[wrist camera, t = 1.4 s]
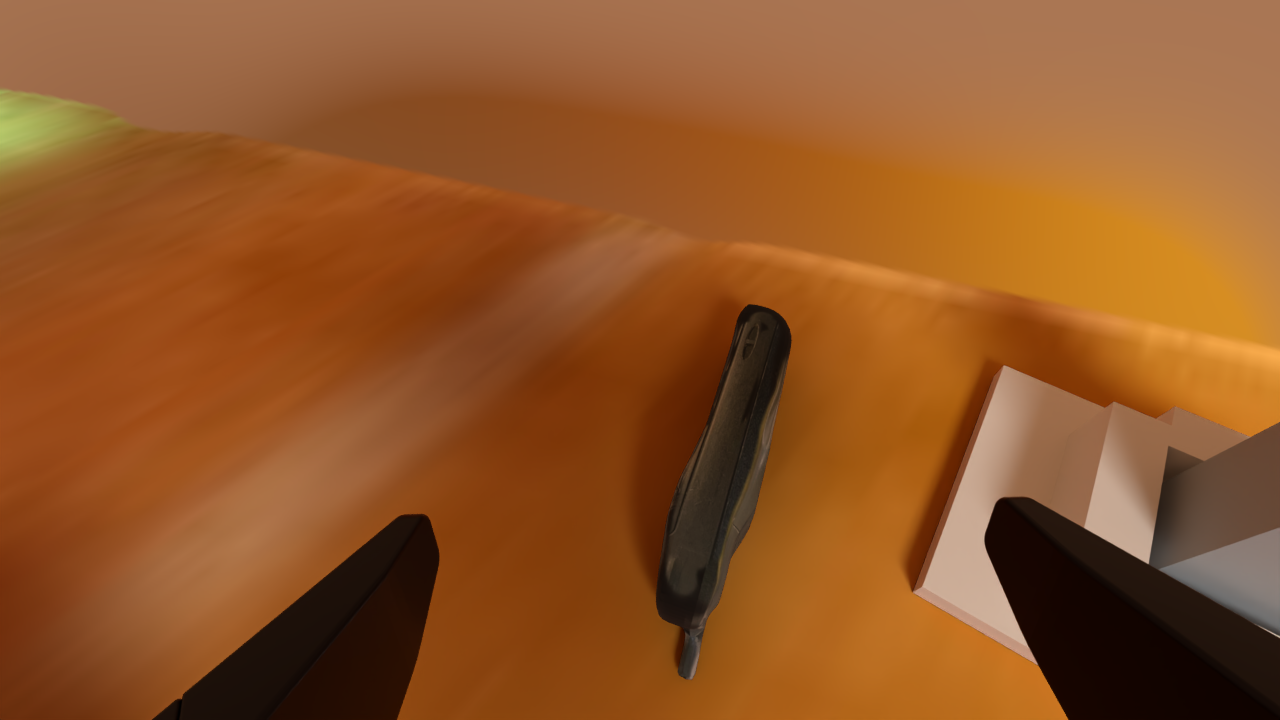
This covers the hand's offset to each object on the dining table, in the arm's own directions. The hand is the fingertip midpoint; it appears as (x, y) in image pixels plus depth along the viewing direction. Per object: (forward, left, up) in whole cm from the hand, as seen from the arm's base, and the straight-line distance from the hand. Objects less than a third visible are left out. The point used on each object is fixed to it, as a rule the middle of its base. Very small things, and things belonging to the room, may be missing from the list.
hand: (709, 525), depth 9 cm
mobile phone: (+2, -6, -16) cm, 17 cm away
